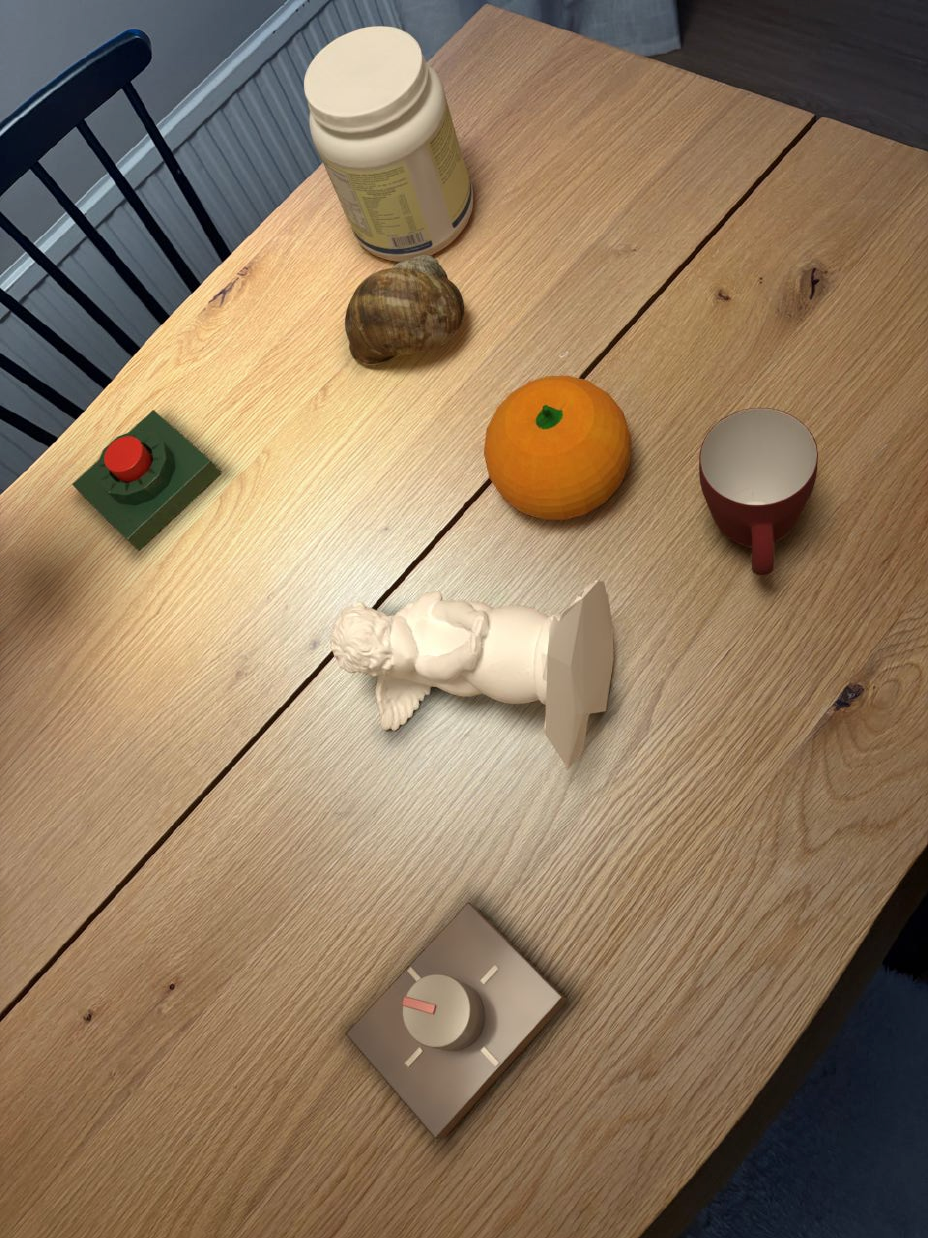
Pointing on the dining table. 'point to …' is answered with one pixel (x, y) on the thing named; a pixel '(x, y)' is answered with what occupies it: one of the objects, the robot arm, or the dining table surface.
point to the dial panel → (511, 1022)
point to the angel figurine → (486, 657)
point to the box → (149, 482)
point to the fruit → (557, 447)
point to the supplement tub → (388, 143)
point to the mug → (758, 478)
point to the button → (127, 459)
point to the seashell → (403, 311)
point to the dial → (443, 1012)
